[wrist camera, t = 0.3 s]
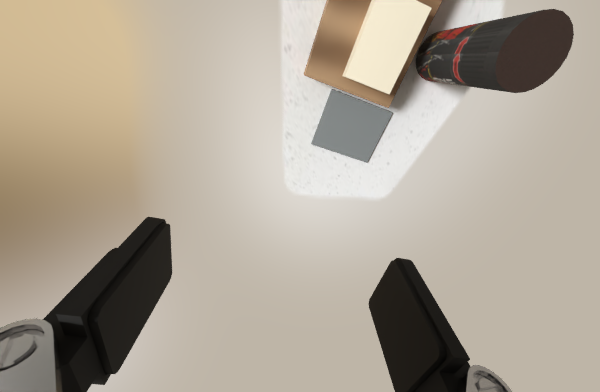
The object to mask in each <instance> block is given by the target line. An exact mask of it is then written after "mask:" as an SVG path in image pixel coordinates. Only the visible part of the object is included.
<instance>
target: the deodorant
mask: <svg viewBox="0 0 600 392" xmlns="http://www.w3.org/2000/svg"><path fill="white" fill-rule="evenodd" d="M573 35H574V34H573V24H572V22H571V20H570V18H569V16H567V15H566V14H565V13H564V12H563V11H559V10H555V9H549V10H541V11H536V12H532V13H527V14H522V15H517V16H512V17H508V18H503V19H498V20H493V21H488V22H483V23H478V24H474V25H469V26H464V27H459V28H454V29H449V30H445V31H440V32H437V33H434V34H433V35H431V36H430V37H428V38H427V39H426V40H425V41H424V43H423V44H422V46H421V47H420V49H419V51H418V54H417V58H416V68H417V71H418V73H419V75H420V76H421V77H422V78H424V79H425V80H429V81H435V82H442V83H449V84H456V85H463V86H470V87H477V88H484V89H492V90H499V91H506V92H513V93H518V92H526V91H529V90H532V89H534V88H536V87H538V86H539V85H541V84H543V83H544V82H545V81H547V80H548V79H549V78H550V77H552V76H553V75H554V73H555V72H556V71H557V70H558V69H559V68H560V67H561V65H562V63H563V62H564V60H565V59H566V57H567V55H568V52H569V50H570V48H571V45H572V39H573Z"/></svg>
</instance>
